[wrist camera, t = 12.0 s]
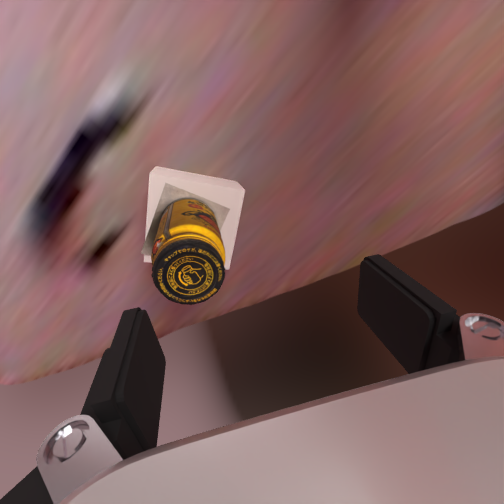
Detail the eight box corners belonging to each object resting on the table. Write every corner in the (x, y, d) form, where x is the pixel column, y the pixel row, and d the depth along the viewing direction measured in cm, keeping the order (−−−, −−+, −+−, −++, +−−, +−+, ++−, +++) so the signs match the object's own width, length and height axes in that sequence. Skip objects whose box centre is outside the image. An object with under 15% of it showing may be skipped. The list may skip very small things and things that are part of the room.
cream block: (155, 165, 32) (149, 173, 27) (236, 180, 35) (245, 190, 30) (150, 242, 36) (143, 261, 31) (223, 250, 39) (229, 269, 33)
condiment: (229, 208, 30) (251, 252, 20) (202, 270, 33) (208, 340, 22) (165, 182, 28) (150, 216, 17) (141, 252, 30) (114, 320, 20)
